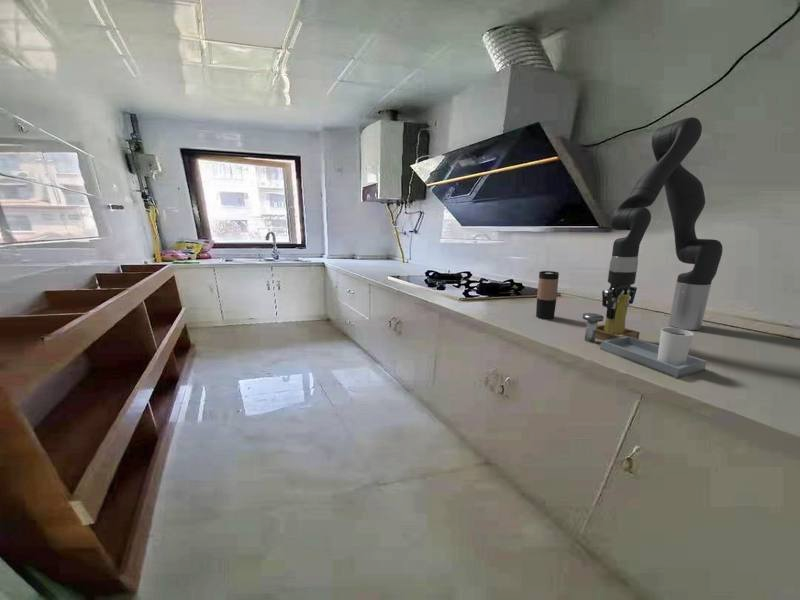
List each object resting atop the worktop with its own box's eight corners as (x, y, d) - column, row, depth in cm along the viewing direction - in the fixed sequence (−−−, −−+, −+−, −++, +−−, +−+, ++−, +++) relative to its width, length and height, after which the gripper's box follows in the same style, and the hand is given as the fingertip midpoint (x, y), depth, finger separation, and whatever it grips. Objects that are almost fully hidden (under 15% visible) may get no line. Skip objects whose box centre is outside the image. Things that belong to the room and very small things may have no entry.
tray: (625, 343, 101) (626, 335, 100) (704, 370, 82) (706, 360, 81) (600, 349, 97) (601, 341, 96) (676, 378, 78) (679, 368, 77)
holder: (607, 330, 113) (608, 323, 112) (638, 340, 103) (639, 332, 102) (586, 334, 110) (587, 327, 109) (616, 345, 100) (617, 337, 99)
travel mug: (533, 314, 135) (536, 271, 131) (550, 314, 134) (555, 270, 129) (538, 319, 128) (542, 273, 123) (557, 320, 127) (562, 273, 122)
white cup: (673, 359, 87) (680, 327, 85) (693, 370, 81) (700, 335, 78) (649, 359, 88) (655, 327, 85) (666, 370, 81) (673, 335, 79)
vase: (628, 335, 102) (634, 295, 99) (608, 334, 104) (613, 294, 100) (619, 329, 108) (624, 291, 105) (600, 328, 109) (605, 290, 106)
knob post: (588, 336, 108) (591, 312, 106) (604, 342, 102) (607, 316, 100) (575, 339, 106) (578, 314, 104) (591, 345, 101) (595, 319, 98)
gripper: (625, 266, 106) (619, 311, 110) (596, 270, 101) (591, 317, 106) (649, 269, 99) (641, 317, 103) (619, 273, 95) (612, 323, 99)
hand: (615, 317), depth 104 cm, fingers closed on vase, 5 cm apart
